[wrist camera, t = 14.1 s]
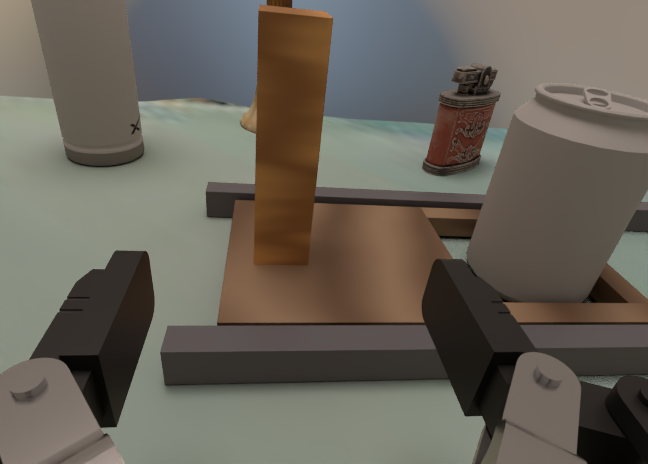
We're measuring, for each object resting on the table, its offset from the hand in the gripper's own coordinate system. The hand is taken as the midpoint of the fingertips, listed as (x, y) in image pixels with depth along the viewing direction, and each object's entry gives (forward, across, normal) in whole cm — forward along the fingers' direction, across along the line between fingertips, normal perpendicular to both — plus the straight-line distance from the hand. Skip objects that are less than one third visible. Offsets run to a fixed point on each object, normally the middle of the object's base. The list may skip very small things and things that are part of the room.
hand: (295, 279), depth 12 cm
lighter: (+30, -18, +8) cm, 36 cm away
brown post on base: (+11, -9, +8) cm, 16 cm away
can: (+11, -16, +8) cm, 21 cm away
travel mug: (+28, +15, +8) cm, 33 cm away
